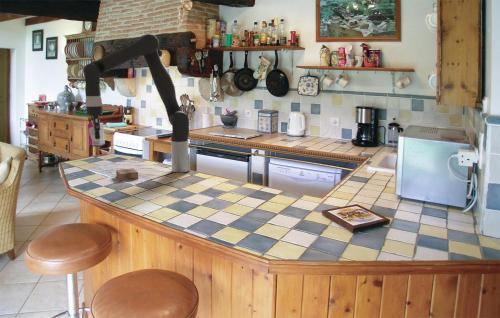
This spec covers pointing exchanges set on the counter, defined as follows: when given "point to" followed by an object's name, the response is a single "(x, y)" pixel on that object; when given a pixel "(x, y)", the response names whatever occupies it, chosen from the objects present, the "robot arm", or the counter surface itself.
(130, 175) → the brown cardboard box
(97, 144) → the supplement box
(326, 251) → the counter surface
